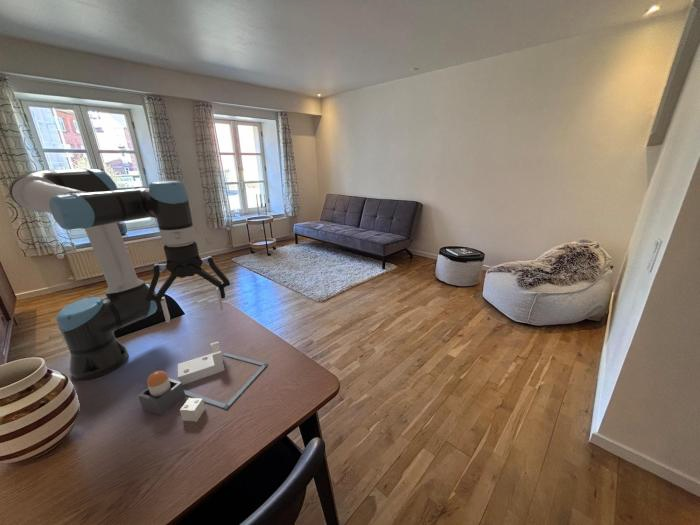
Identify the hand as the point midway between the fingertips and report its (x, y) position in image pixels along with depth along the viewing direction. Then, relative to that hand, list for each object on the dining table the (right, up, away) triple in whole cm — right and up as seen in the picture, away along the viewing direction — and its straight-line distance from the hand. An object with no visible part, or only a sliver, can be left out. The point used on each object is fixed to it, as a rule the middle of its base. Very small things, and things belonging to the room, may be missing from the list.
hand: (195, 314), depth 80 cm
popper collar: (-10, -26, +2) cm, 28 cm away
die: (+1, -28, -3) cm, 28 cm away
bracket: (-5, -22, +14) cm, 26 cm away
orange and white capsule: (-10, -23, +1) cm, 25 cm away
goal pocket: (+4, -23, +10) cm, 25 cm away
